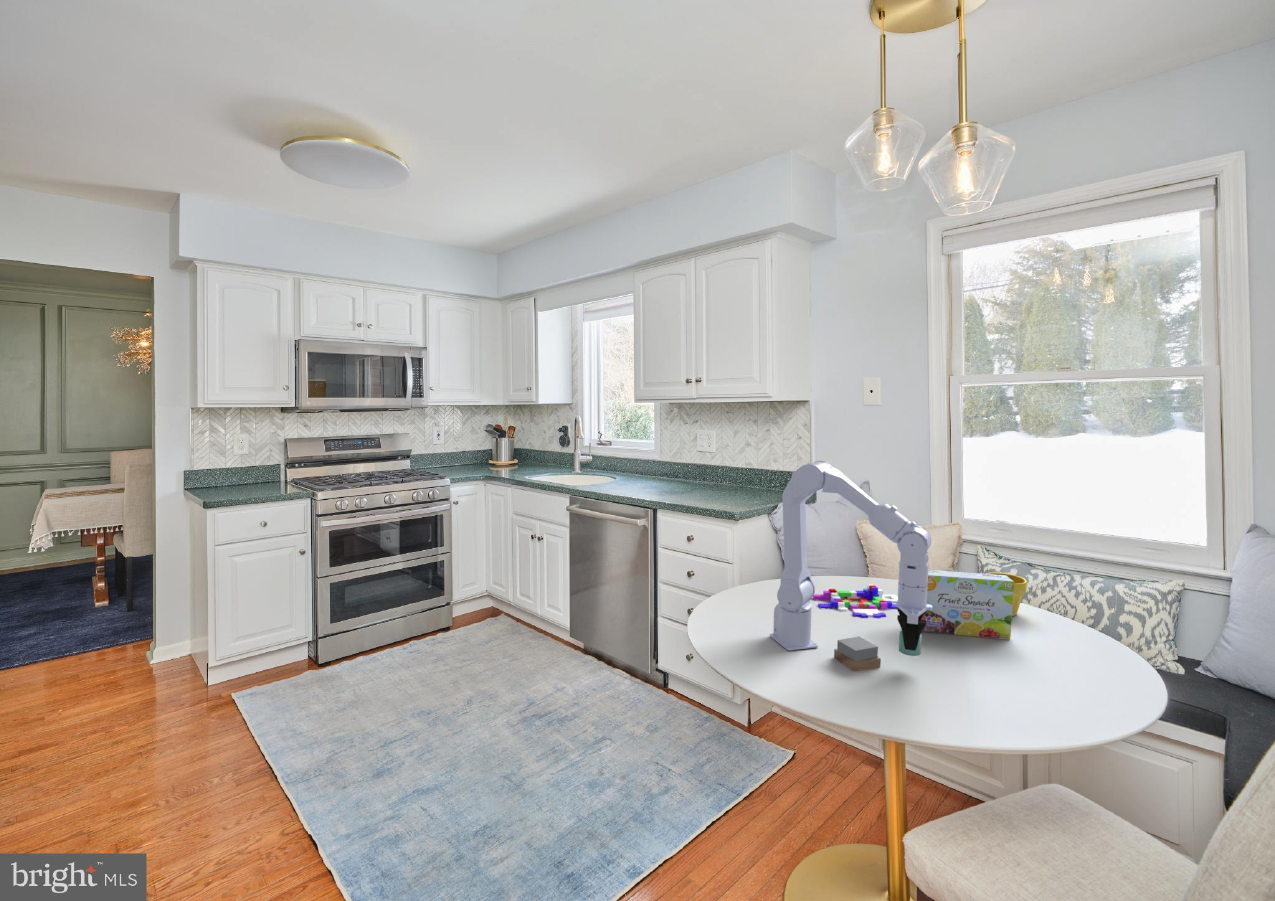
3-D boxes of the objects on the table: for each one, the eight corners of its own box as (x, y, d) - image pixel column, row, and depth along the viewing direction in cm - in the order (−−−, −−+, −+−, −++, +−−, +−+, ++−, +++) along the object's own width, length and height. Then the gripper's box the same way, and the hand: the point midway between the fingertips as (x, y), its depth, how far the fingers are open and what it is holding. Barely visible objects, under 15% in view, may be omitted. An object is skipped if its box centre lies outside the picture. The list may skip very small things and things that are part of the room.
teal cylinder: (894, 648, 135) (895, 630, 135) (911, 646, 136) (912, 628, 136) (907, 656, 131) (908, 638, 130) (925, 654, 132) (926, 636, 131)
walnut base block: (833, 659, 140) (834, 648, 140) (860, 656, 142) (861, 645, 141) (852, 673, 133) (852, 661, 133) (880, 669, 135) (880, 658, 135)
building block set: (828, 619, 165) (828, 603, 165) (808, 594, 185) (808, 580, 185) (921, 620, 165) (922, 603, 164) (891, 595, 185) (892, 580, 185)
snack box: (917, 632, 155) (920, 573, 153) (913, 624, 160) (915, 567, 159) (1011, 640, 150) (1015, 580, 148) (1003, 632, 155) (1007, 573, 154)
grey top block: (837, 650, 139) (837, 640, 138) (858, 646, 141) (859, 636, 140) (855, 661, 133) (855, 650, 133) (877, 657, 135) (877, 646, 135)
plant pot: (1018, 622, 162) (1020, 585, 161) (975, 611, 169) (977, 577, 168) (1030, 612, 169) (1032, 577, 168) (988, 603, 176) (990, 570, 175)
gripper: (935, 596, 124) (932, 661, 125) (931, 576, 137) (928, 635, 138) (897, 591, 126) (894, 655, 128) (897, 573, 140) (894, 631, 141)
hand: (909, 645), depth 133 cm, fingers closed on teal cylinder, 4 cm apart
